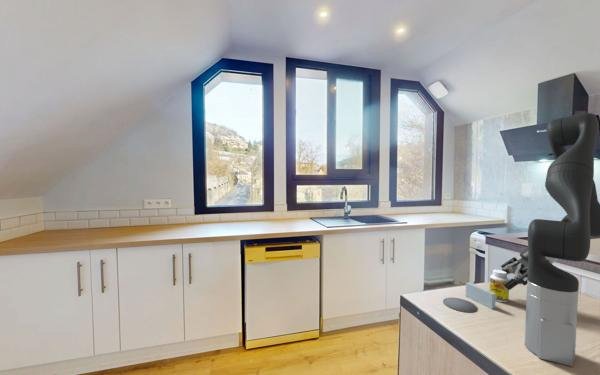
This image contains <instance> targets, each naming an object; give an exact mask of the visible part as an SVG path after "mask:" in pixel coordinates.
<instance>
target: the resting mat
mask: <svg viewBox="0 0 600 375" xmlns="http://www.w3.org/2000/svg"><path fill="white" fill-rule="evenodd" d="M442 303H443V305H444V306H446V307H447V308H449V309H452V310H455V311H458V312H463V313H475V312H477V311H478V307H477V306H476V304H474V303H473V302H471V301H469V300H466V299H464V298H460V297H459V298H458V297H445V298H443V300H442Z"/></svg>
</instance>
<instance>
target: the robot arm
mask: <svg viewBox="0 0 600 375" xmlns="http://www.w3.org/2000/svg"><path fill="white" fill-rule="evenodd" d="M599 134H600V122H599V119H598V117H597V116H596V115H595V114H594V113H592V112H586V113H585V112H584V113H578V114H573V115H568V116H565V117H560V118H555V119H554V118H553V119H551V120H550V121H549V122H548V124H547V127H546V135H547V136H546V137H547V140H548V143H549V146H550V149H551V152H552V155H553V158H554V160H553V161H552V162H551V163H550V165H549V166H548V168H547V172H546V176H545V181H544V182H545V183H544V186H545V190H546V192H547V193H548V195H549V196H550V197H551V198H552V199H553V200H554V201H555V202H556V203H557V204H558V205H559V206H560V207H561V208H562V209H563V210H564V211H565V213H566V215H565V216H564V217H562V219H561V220H553V219H552V220H551V219H543V218H542V219H541V218H539V219H538V218H537V219H533V220H532V221H531V222H529V226H528V230H527V248H525V249H524V250H522V252H520V253H519V256H520V258H519V259H517V257H516V256H513V257H512V258H510V259H509V260H507V261H506V262H504V263H503V264H502V265H500V267H501V270H502V271H505V272H507V276H508V275H511V274H513V275H514V276H513V278H512V277H511V278H509V281H507V282H506V283H505V284H504V286H505V287H506V288H507V289H508V290H509V291H510V290H512V289H513V288H515V287H516V286H517V285H523V286H526V300H525V303H526V304H525V326H524V327H525V328H524V346H525V347H526V349H528V350H529V351H530V352H531V353H533V354H535V355H536V356H537V357H538V358H539V359H542V360H545V361H550V362H554V363H557V364H561V365H566V366H569V367H574V363H575V361H576V346H577V344H576V343H577V342H576V340H577V325H578V324H577V323H578V302H579V290H580V289H579V286H580V281H579V279H578V278H577V277H576V276H575V275H573V274H572V273H570V272H568V271H565V270H563V269H561V268H559V267H557V266H556V265H554V263H555V262H557V261H558V260H564V261H571V262H579V263H580V262H584V261H585V260H586V259H587V258H588V257H589V254H590V250H591V238H600V202H599V199H598V198H599V197H598V194H597V187H596V182H595V180H594V177H595V175H594V174H595V165H594V164H595V152H596V147H597V143H598V138H599ZM569 146H571V147H569ZM566 147H569V149H567V148H566Z"/></svg>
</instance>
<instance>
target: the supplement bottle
mask: <svg viewBox="0 0 600 375" xmlns="http://www.w3.org/2000/svg"><path fill="white" fill-rule="evenodd" d="M509 280H510V278H509V277H508V275H507V272H505V271H502V269H493V271H492V274H490V277H489V291H490V292H492V293H495V294H496V300H495V302H500V303H508V302H509V299H510V298H509V297H510V290H508V289H507V288H506V287H505V286H504V284H505V283H506V282H507V281H509Z"/></svg>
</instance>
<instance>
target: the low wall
mask: <svg viewBox="0 0 600 375" xmlns="http://www.w3.org/2000/svg"><path fill="white" fill-rule="evenodd" d="M465 297H467V298H468V299H471V300H472V301H474V302H477V303H479V304H480V305H482V306H485V307H487V308H489V309H491V310H494V309H496V294H495V293H492V292H490V290H488V289H485V288H483V287H481V286H478V285H477V284H474V283H473V282H466V283H465Z"/></svg>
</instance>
